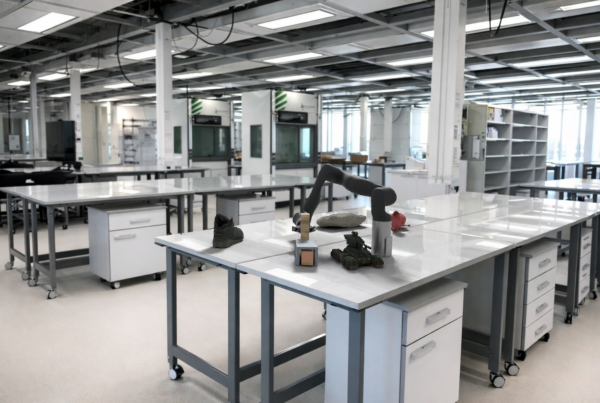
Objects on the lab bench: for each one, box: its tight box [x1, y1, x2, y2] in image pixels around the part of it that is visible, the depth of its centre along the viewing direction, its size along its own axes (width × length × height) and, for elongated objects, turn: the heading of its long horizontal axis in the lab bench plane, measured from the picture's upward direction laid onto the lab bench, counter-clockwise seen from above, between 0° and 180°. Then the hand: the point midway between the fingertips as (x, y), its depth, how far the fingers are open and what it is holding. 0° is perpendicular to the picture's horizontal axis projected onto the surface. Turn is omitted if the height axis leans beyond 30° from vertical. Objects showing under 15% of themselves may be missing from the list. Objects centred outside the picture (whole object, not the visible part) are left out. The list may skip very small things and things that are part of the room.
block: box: [300, 249, 314, 264], centre depth 212 cm, size 5×5×5 cm
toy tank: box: [330, 230, 385, 271], centre depth 217 cm, size 17×27×14 cm, turn 16°
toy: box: [390, 210, 411, 233], centre depth 302 cm, size 18×17×30 cm
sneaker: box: [211, 213, 245, 249], centre depth 255 cm, size 12×29×17 cm, turn 168°
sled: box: [299, 212, 314, 266], centre depth 222 cm, size 27×5×19 cm, turn 2°
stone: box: [315, 212, 367, 228], centre depth 307 cm, size 33×9×20 cm
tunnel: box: [295, 239, 319, 267], centre depth 218 cm, size 14×9×8 cm
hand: (304, 232), depth 236 cm, fingers closed
